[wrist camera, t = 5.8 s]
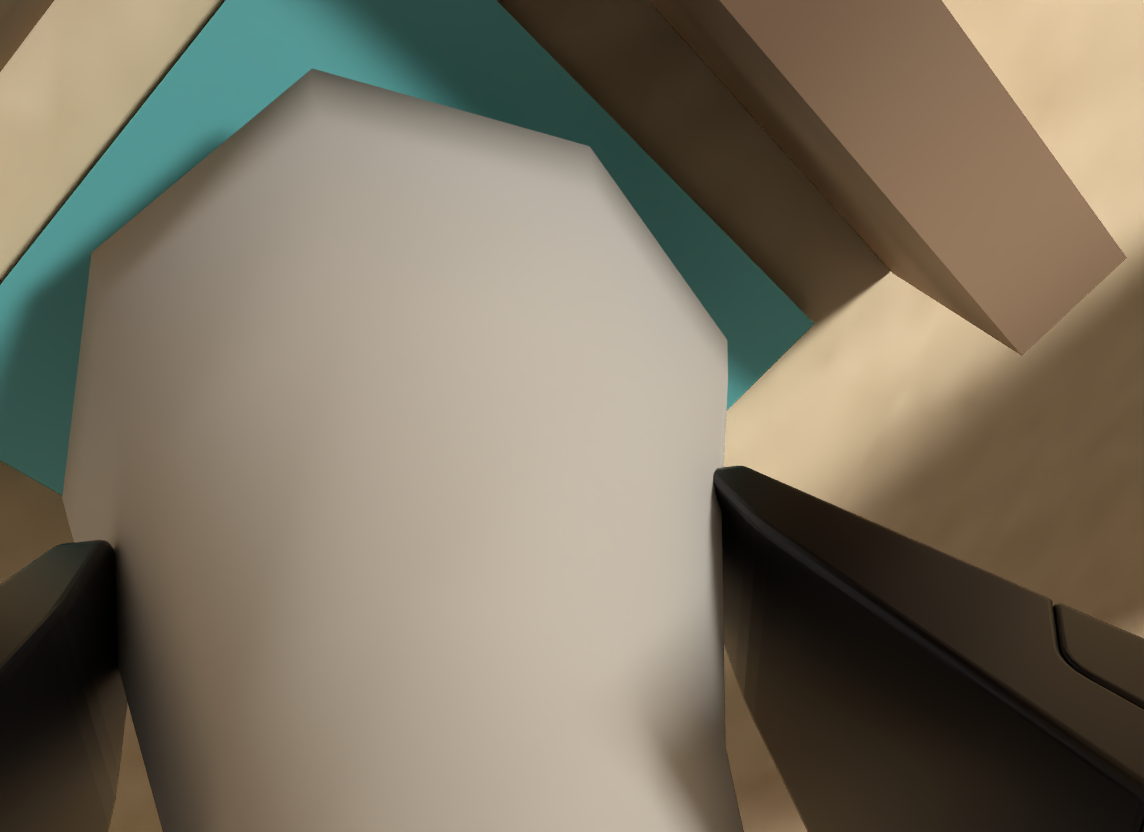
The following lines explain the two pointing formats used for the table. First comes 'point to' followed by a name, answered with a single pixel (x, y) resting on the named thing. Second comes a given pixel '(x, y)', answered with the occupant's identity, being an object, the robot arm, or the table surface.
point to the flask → (407, 483)
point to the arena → (892, 147)
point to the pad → (380, 58)
